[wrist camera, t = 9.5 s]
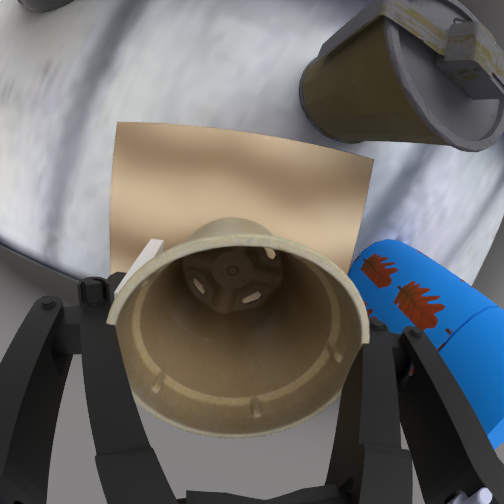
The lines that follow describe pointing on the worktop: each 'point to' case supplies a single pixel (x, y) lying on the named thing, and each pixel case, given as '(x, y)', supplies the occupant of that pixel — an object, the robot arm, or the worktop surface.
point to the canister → (408, 77)
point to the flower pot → (238, 332)
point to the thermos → (439, 321)
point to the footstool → (231, 189)
